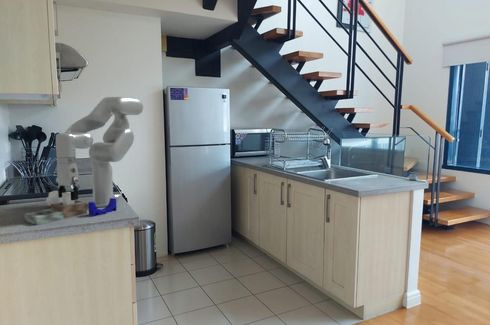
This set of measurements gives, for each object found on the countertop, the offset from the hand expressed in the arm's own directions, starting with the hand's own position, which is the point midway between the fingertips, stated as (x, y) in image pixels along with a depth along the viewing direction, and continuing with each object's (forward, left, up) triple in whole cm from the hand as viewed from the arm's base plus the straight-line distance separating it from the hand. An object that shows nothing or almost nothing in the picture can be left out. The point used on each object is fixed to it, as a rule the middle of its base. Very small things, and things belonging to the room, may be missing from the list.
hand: (68, 198), depth 156 cm
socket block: (+5, 0, -7) cm, 9 cm away
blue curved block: (-10, +11, -8) cm, 17 cm away
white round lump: (-5, -20, -8) cm, 22 cm away
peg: (0, 0, -7) cm, 7 cm away
